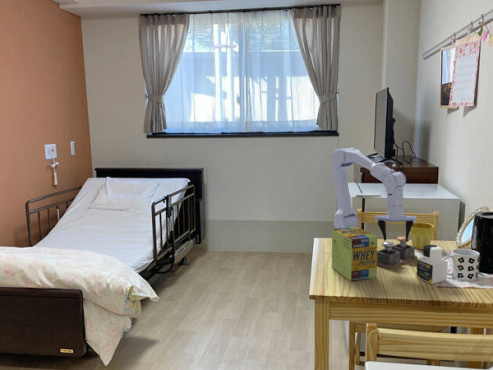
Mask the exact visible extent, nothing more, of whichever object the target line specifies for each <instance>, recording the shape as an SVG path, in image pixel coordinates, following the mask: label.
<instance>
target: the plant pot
mask: <svg viewBox="0 0 493 370" xmlns="http://www.w3.org/2000/svg"><path fill="white" fill-rule="evenodd" d="M434 234H435V225H434V224H432V223H428V222H421V221H420V222H417V221H416V222H413V225H412V227H411V230H410V232H409V235H410V240H411V246H414V247H415V250H417V249H418V250H423V247H424V246H426V245H431V242H432V237H433V236H434Z"/></svg>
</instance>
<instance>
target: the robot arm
mask: <svg viewBox="0 0 493 370" xmlns="http://www.w3.org/2000/svg"><path fill="white" fill-rule="evenodd" d="M331 162H332V165H331V169H332V176H333V182H334V183H333V184H334V189H335V196H336V201H337V202H336V203H337V211H336V212H335V213H334V222H333V226H334V229H336V228H347V227H358V228H359V226H360V219H359V217H358V214H357V211H356V210H355V209H354V208H353V207H352V202H351V196H350V188H349V183H348V182H349V181H348V177H347V175H348V174H347V171H348V169H349V168H350V167H351V166H352V165H354V164H355V163H356V164H358V165H360V166H361V167H363V168H365V169H367V170H368V171H370V175H371V176H372V177H374V178H376V179H377V180H379V181H381V182H382V183H383V186H384V188H385V192H386V213H387V214H386V215H375V216H374V222H377V225H378V227H379V229H380V231H381V234H382V237H383V242H384V241H387V222H391V223H392V222H397V223H401V222H402V223H405V237H406V243H408V242H409V241H408V238H409V235H410V233H409V232H410V230H411V227H412V225H413V223H416V222H417V215H415V216H414V215H404V186H405V185H406V183H407V178H406V175H405V174H404V173H403V172H402V171H395V169H393V168H390V167H389V166H387V165H385V163H384V162H383V161H382V162H374V161H373V160H372V159H370V158H369V157H368V156H367V155H364V154H363V153H362V152H361V150H359V149H357V148H356V147H352V146H351V147H347V148H336V149H335V150H334V151H333V153H332V154H331Z"/></svg>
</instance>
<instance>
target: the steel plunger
mask: <svg viewBox="0 0 493 370" xmlns="http://www.w3.org/2000/svg"><path fill="white" fill-rule="evenodd" d="M394 245H395V243H394V242H393V241H387V240H386V241H384V240H383V241H382V242H381V246H382V247H384V248H385V249H384V248H383V249H384V253H386V254H391V247H393V246H394Z"/></svg>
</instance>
